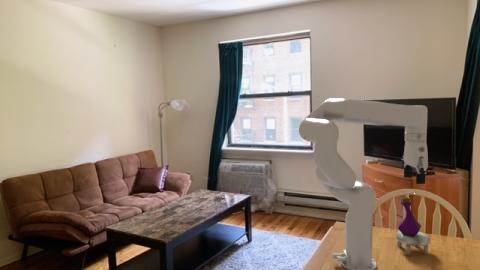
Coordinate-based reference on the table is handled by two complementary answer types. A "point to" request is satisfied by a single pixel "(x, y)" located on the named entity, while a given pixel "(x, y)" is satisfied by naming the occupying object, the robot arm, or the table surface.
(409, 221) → the perfume bottle
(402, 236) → the stool
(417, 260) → the table surface
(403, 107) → the robot arm
